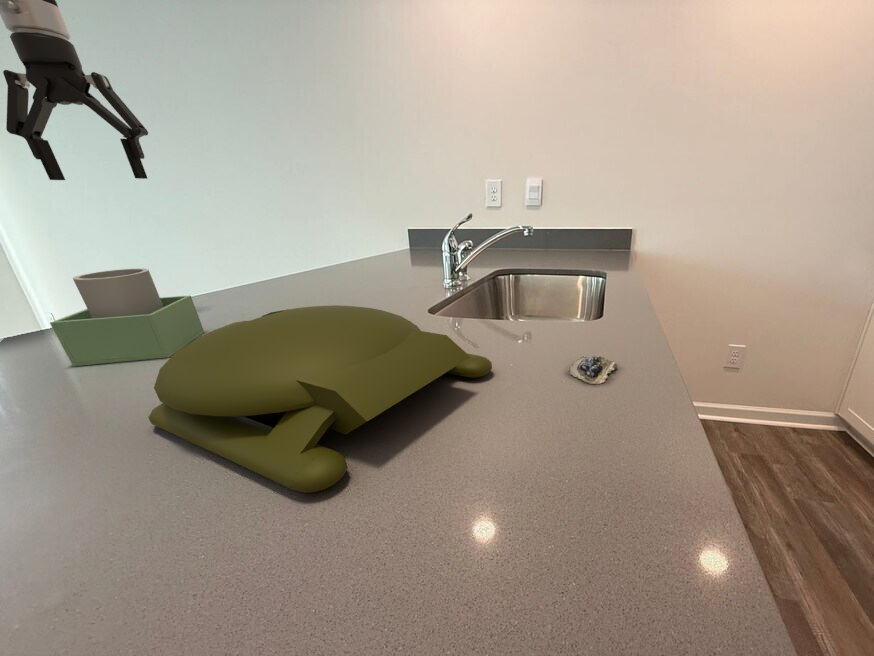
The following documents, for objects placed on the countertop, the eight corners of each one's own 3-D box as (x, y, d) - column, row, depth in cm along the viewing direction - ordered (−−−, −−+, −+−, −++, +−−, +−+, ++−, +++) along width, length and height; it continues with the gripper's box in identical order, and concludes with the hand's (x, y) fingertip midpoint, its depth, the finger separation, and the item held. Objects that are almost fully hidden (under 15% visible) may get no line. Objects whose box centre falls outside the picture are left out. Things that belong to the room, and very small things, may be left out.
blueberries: (616, 362, 60) (617, 350, 59) (621, 385, 53) (622, 372, 52) (570, 360, 61) (570, 348, 60) (569, 383, 54) (569, 370, 53)
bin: (72, 366, 63) (49, 322, 60) (124, 339, 75) (106, 301, 72) (169, 357, 66) (151, 315, 63) (204, 332, 78) (190, 295, 74)
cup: (176, 345, 69) (147, 273, 64) (105, 358, 65) (67, 282, 59) (175, 332, 76) (149, 266, 71) (111, 343, 71) (78, 273, 66)
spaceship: (499, 371, 58) (496, 303, 54) (315, 508, 34) (283, 405, 29) (331, 337, 73) (318, 282, 69) (120, 415, 49) (80, 338, 45)
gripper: (-76, 25, 62) (3, 180, 71) (113, 33, 67) (164, 177, 76) (-30, 41, 69) (37, 181, 78) (139, 47, 74) (184, 178, 83)
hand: (100, 179), depth 77 cm, fingers open, 13 cm apart
